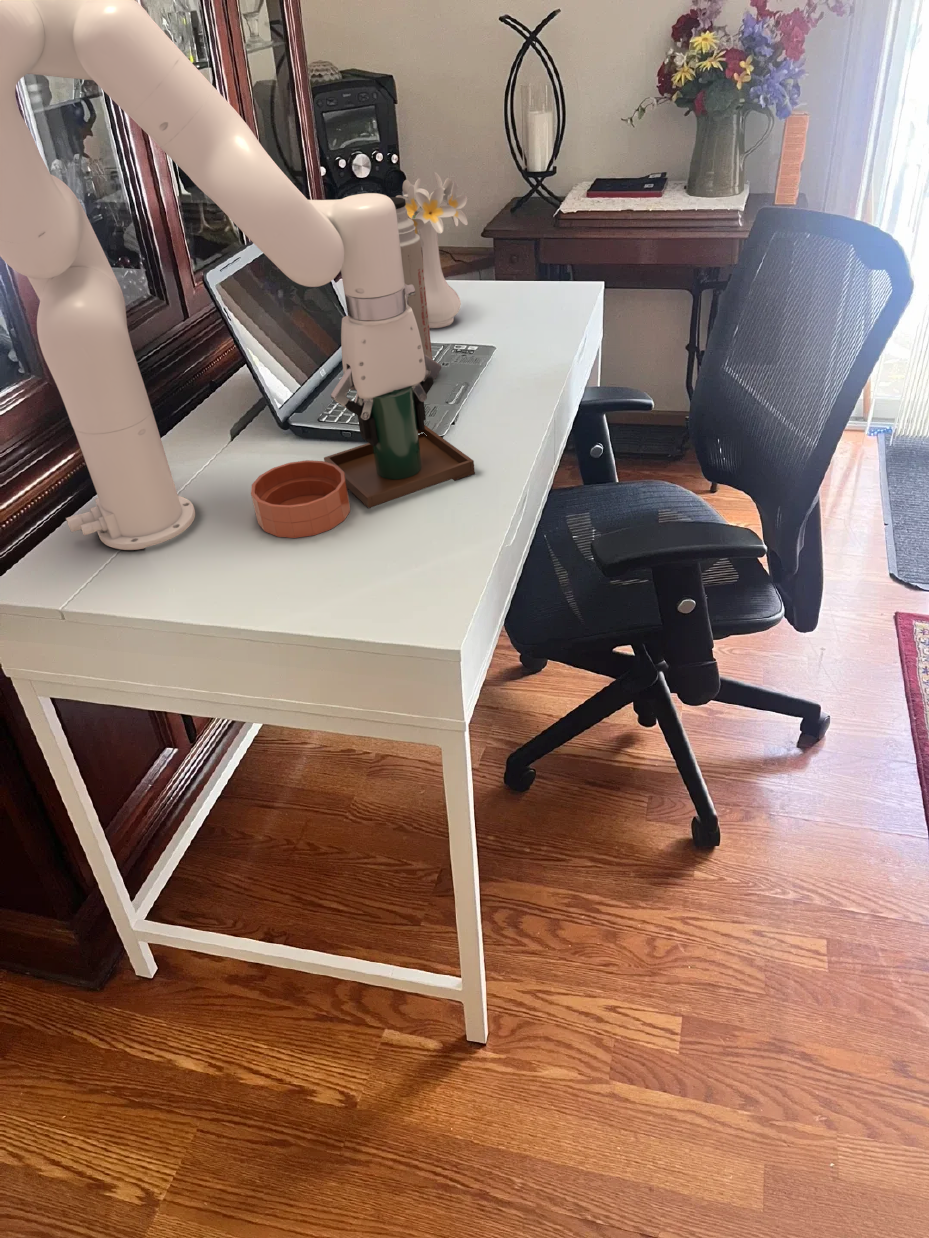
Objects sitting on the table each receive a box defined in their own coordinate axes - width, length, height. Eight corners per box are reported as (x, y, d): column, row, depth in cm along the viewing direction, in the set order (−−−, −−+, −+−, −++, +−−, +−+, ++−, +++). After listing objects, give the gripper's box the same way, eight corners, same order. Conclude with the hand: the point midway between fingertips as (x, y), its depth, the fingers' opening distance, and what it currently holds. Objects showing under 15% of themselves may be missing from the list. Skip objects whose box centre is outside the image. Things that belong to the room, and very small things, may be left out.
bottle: (388, 484, 127) (371, 364, 117) (368, 466, 132) (350, 350, 121) (430, 470, 130) (416, 351, 119) (408, 453, 134) (394, 337, 124)
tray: (369, 511, 123) (366, 497, 122) (325, 470, 133) (323, 457, 132) (474, 473, 129) (473, 460, 128) (425, 437, 139) (424, 424, 138)
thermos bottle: (438, 368, 159) (421, 192, 142) (428, 388, 153) (408, 206, 136) (393, 368, 161) (371, 194, 144) (381, 387, 155) (356, 208, 138)
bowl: (279, 551, 117) (271, 517, 114) (246, 512, 125) (238, 479, 122) (365, 520, 121) (360, 486, 118) (328, 484, 130) (322, 451, 127)
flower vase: (392, 342, 170) (373, 196, 155) (417, 306, 184) (402, 169, 169) (461, 343, 168) (449, 193, 152) (482, 306, 182) (473, 166, 167)
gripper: (423, 280, 122) (436, 407, 133) (300, 312, 116) (325, 443, 127) (451, 294, 117) (463, 426, 128) (324, 329, 111) (348, 464, 122)
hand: (394, 433), depth 127 cm, fingers closed on bottle, 6 cm apart
